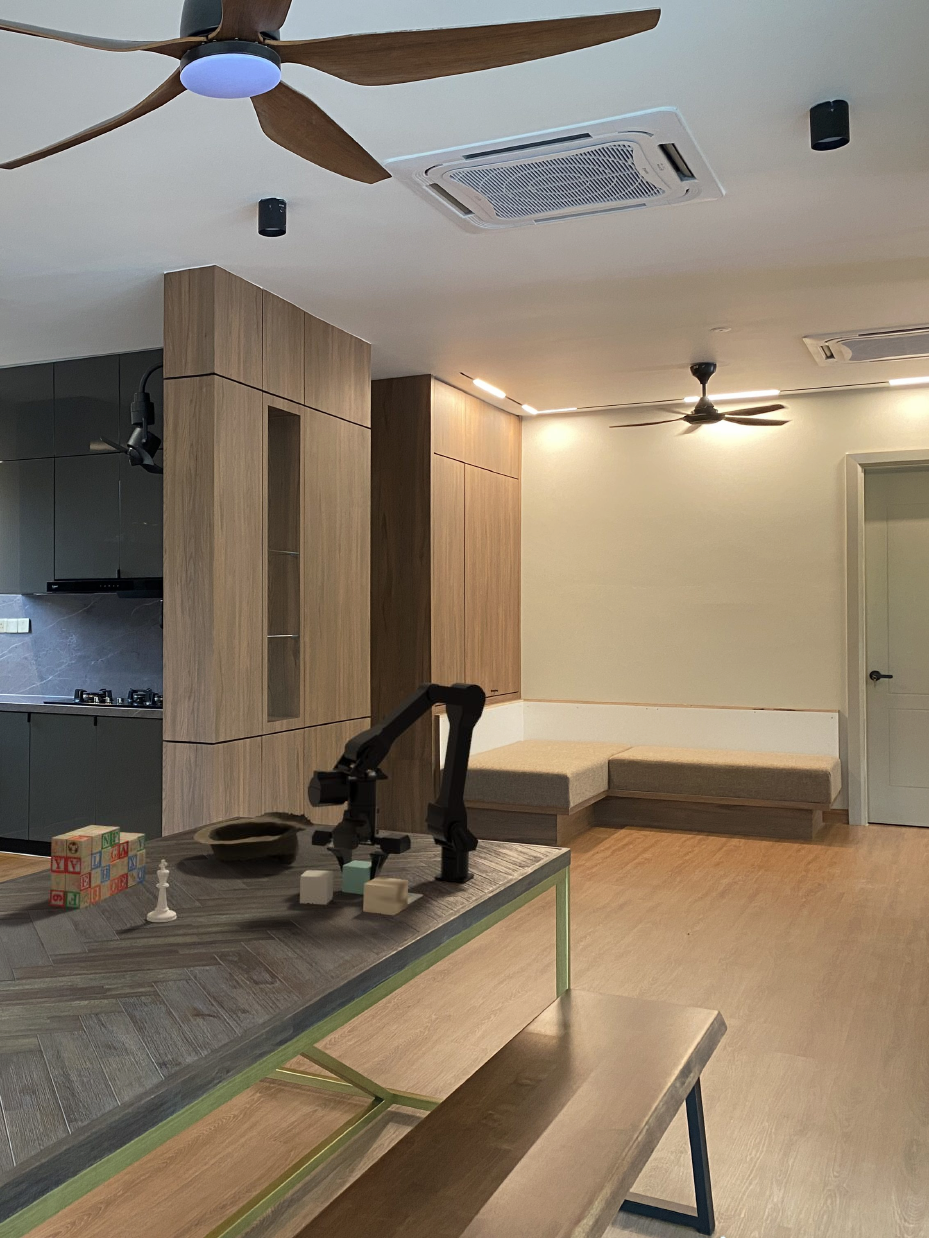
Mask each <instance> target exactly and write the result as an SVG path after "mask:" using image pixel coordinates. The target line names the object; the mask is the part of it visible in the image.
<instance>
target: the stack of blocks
mask: <svg viewBox="0 0 929 1238" xmlns="http://www.w3.org/2000/svg"><path fill="white" fill-rule="evenodd" d="M50 849H51V850H50V851H51V855H50V889H49V896H50V897H49V906H53V907H60V908H63V907H65V908H74V909H82V908H84V907H87V906H88V905H92V904H94V903H97V902H99V901H101V900H105V899H107V898H109V897H110V896H113V895H114V894H116V893H119V892H122V891H124V890H126V889H128V888H130V887H132V886H136V885H138V884H141V883H142V882H145V880H146V852H147V851H146V833H139V832H138V833H137V832H124V831H123V832H121V827H120V826H107V825H106V826H105V825H95V824H90V825H88V826H84V827H82V828H79V829H75V830H72V831H69V832H66V833H64V834H59V835H57V836H53V837H51V848H50Z"/></svg>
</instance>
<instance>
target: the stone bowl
mask: <svg viewBox="0 0 929 1238" xmlns="http://www.w3.org/2000/svg"><path fill="white" fill-rule="evenodd" d="M314 826H315V823H314V822H312V821H311V819H309V816H307V817H306V814H305V813H302V814H301V813H300V814H294V813H293V812H291V813H289V812H285V811H283V812H281V811H272V812H264V813H263V814H261V815H256V816H254V817H253V818H241V819H237V820H230V821H224V822H220V823H217V824H214V825H209V826H207V827H205V826H204V827H203V828H201V829H199V830H198V831H196V833H195V834H194V836H193V840H194V841H196V842H198V843H202V844H205V845H209V846H210V849H211V850H212V852H213V854H214V857H215V858H216V860H217V861H218V862H219V863H223V862H226V861H227V862H228V861H229V862H230V861H235V860H237V861H241V860H242V861H246V860H249V859H257V858H263V857H266V858H268V859H269V858H271V859H272V860H273V861H277V860H278V861H279V862H281V863H283V864H286V863H287V864H290V863H293V862H294V861H295V859H296V858H297V857H298V855H299V851H300V843H299V838H298V833H300V832H303V831H307V829H309V828H312V827H314Z"/></svg>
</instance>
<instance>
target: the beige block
mask: <svg viewBox="0 0 929 1238" xmlns="http://www.w3.org/2000/svg"><path fill="white" fill-rule="evenodd" d="M299 886H300V887H299V888H300V889H299V904H307V903H310V905H312V903H313V905H328V904H329V903H330V901H331V900H332V899H333V898H332V897H334V894H333V893H334V871H333V870H320V869H319V870H314V869H307V870H305V871H304V872H303V873H302V874H301V875H300V885H299ZM327 903H328V904H327Z"/></svg>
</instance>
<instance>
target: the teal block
mask: <svg viewBox="0 0 929 1238" xmlns="http://www.w3.org/2000/svg"><path fill="white" fill-rule="evenodd" d="M370 874H371V861H364V860H356V859H354V860H352V862H350V863H347V864H345V865H343V875H342V881H341V882H342V883H341V884H342V885H341V887H342V889H341V891H342V892H343V893H348V894H349V893H350V894H357V895H358V894H359V895H364V884H365V883H367V882H369V881H370Z"/></svg>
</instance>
